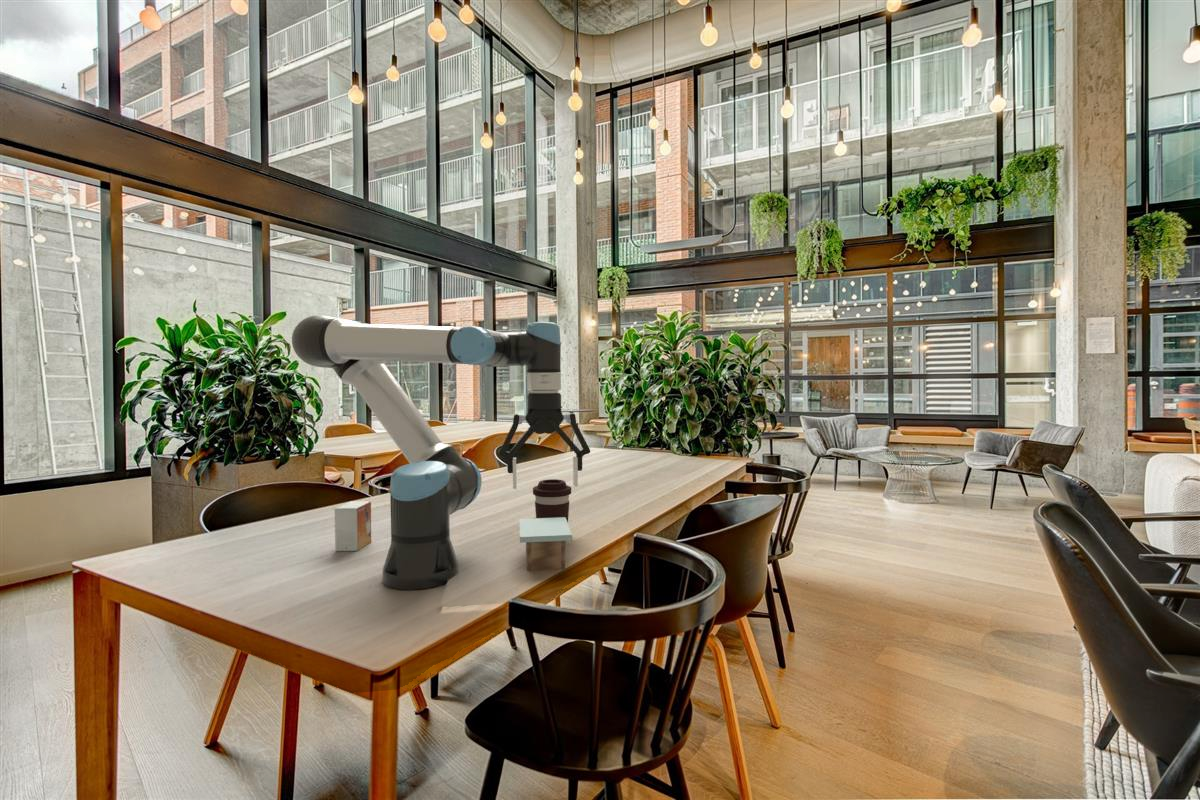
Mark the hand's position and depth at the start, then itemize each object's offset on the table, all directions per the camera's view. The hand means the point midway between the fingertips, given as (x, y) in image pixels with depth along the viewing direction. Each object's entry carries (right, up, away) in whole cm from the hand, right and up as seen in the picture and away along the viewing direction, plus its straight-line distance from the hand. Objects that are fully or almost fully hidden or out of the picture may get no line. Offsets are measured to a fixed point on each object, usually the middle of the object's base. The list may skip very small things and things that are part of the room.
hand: (545, 486), depth 122 cm
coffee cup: (0, -17, +19) cm, 25 cm away
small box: (-49, -17, +12) cm, 53 cm away
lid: (0, -10, 0) cm, 10 cm away
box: (0, -17, +1) cm, 17 cm away
